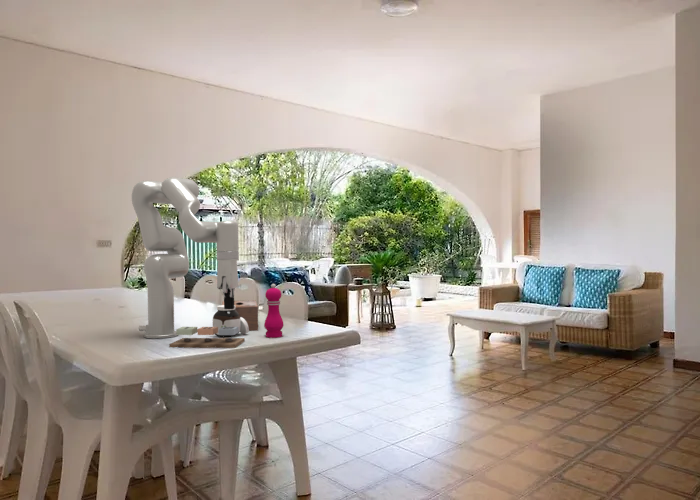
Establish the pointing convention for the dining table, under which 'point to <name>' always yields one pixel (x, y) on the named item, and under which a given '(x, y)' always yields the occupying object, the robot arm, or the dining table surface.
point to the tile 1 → (186, 330)
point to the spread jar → (229, 321)
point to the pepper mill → (273, 313)
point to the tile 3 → (228, 330)
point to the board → (208, 342)
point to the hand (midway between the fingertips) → (229, 308)
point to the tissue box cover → (248, 312)
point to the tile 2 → (207, 330)
